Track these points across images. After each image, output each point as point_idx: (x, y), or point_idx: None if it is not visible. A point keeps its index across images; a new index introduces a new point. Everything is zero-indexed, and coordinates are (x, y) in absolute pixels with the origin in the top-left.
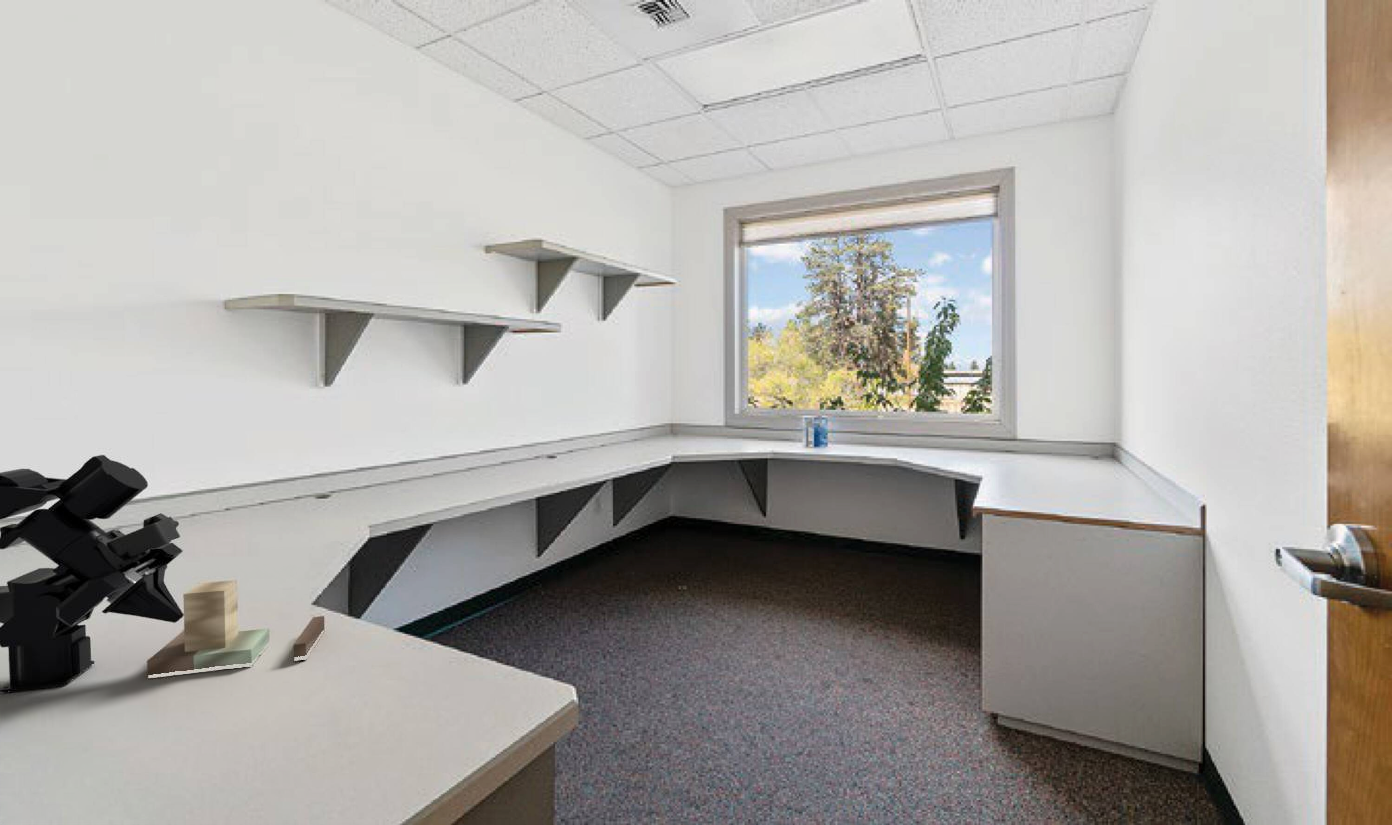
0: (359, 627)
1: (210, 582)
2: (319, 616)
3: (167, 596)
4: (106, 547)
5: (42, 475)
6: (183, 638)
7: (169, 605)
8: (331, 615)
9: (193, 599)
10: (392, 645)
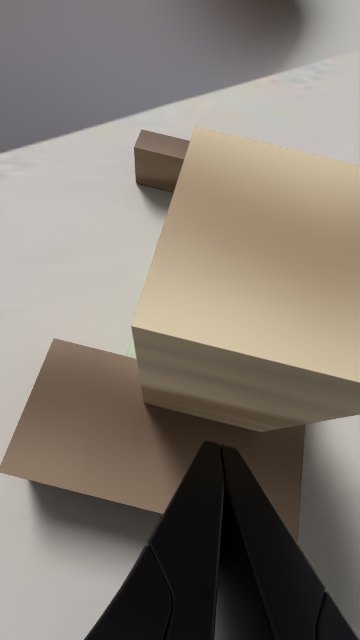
0: (158, 118)
1: (165, 249)
2: (138, 137)
3: (214, 563)
4: None
5: None
6: (110, 458)
7: (265, 518)
8: (31, 146)
9: None
10: (288, 96)
